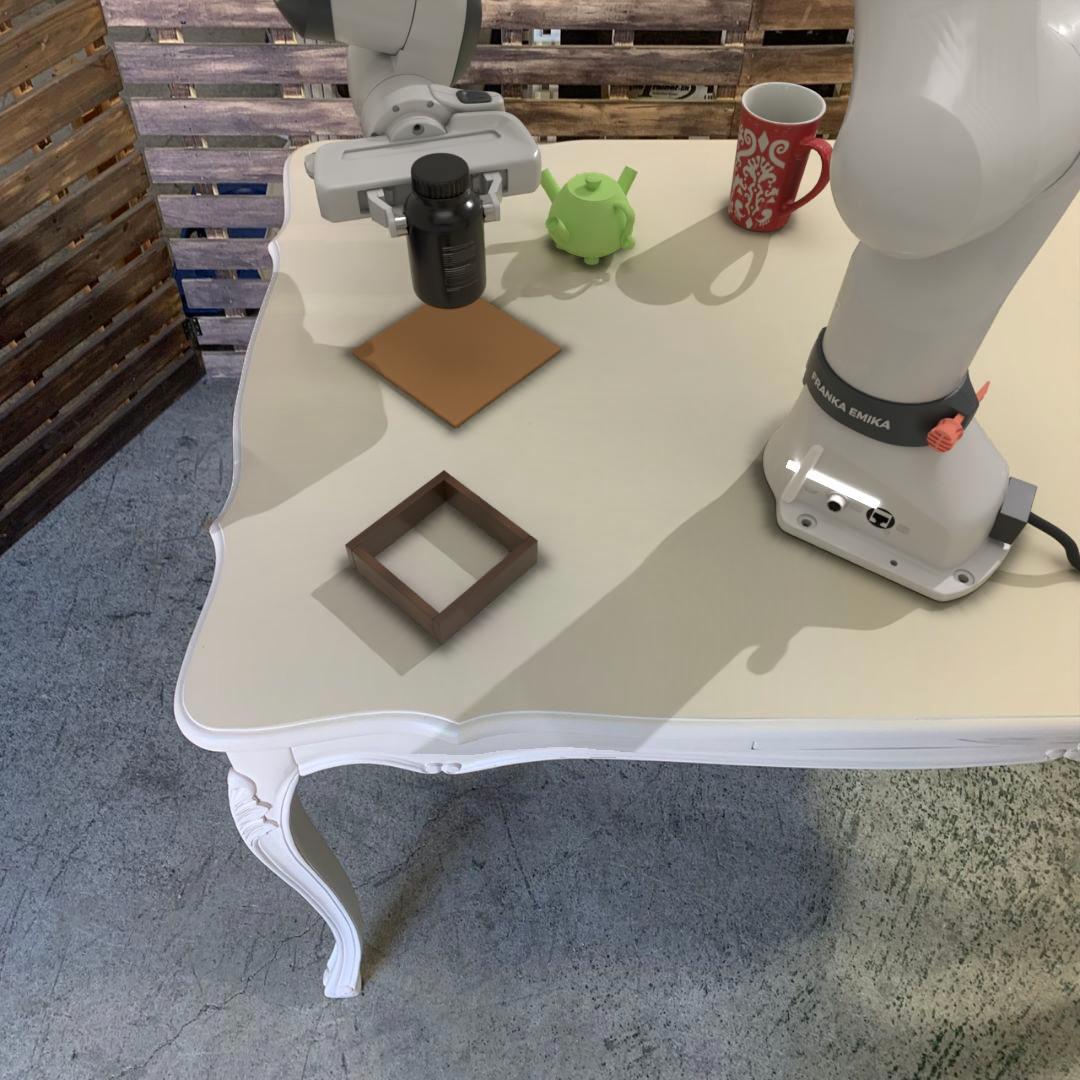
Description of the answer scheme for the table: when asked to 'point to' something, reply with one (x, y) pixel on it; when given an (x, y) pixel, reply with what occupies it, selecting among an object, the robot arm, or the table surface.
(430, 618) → the frame
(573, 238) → the teapot
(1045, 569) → the table surface
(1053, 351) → the table surface
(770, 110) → the mug
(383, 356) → the cork mat
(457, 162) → the supplement bottle
